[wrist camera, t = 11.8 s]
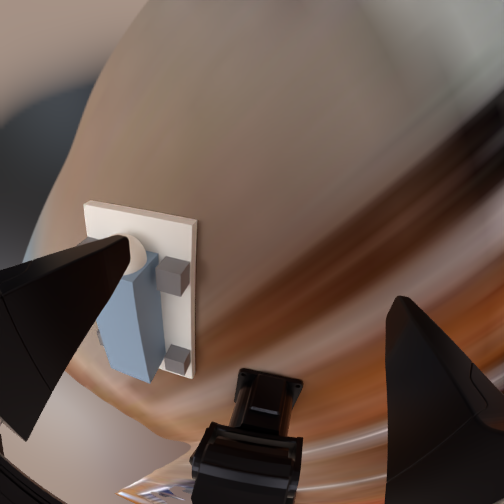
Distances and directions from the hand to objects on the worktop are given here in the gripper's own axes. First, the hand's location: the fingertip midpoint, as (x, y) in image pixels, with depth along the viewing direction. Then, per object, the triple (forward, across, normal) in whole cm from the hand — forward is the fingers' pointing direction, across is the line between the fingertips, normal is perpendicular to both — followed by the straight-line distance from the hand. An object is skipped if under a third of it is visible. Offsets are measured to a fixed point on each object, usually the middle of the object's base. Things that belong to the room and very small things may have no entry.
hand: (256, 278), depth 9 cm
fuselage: (+10, +11, +13) cm, 20 cm away
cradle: (+11, +11, +13) cm, 20 cm away
